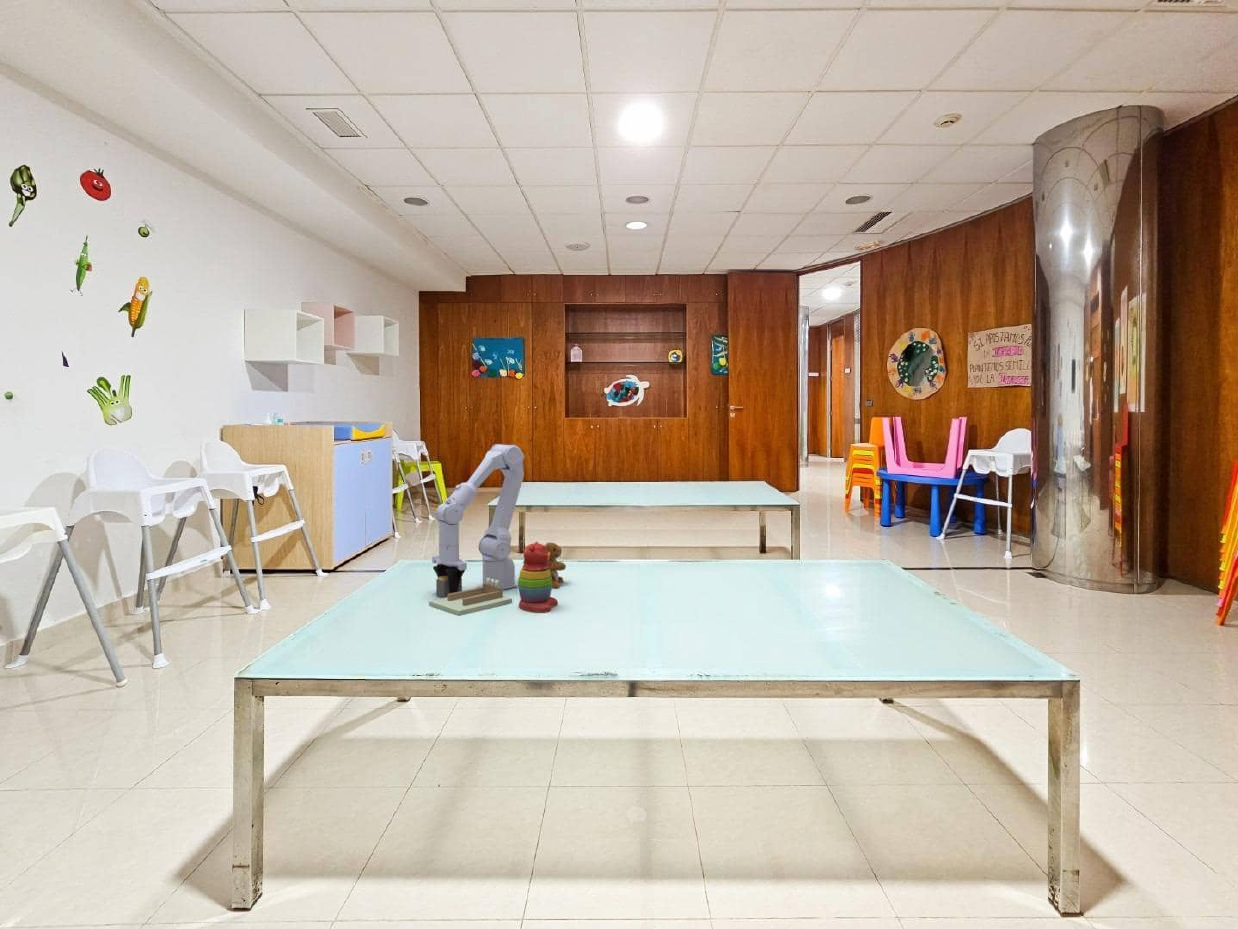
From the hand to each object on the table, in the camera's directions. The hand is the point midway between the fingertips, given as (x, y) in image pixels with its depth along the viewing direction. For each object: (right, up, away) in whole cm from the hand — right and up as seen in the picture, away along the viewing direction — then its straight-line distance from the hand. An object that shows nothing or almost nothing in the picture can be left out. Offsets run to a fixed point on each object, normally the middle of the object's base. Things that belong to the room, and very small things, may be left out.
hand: (449, 590), depth 204 cm
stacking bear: (+27, -3, -11) cm, 29 cm away
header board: (+8, -2, -9) cm, 12 cm away
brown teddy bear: (+26, -1, +16) cm, 30 cm away
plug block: (0, -1, 0) cm, 1 cm away
